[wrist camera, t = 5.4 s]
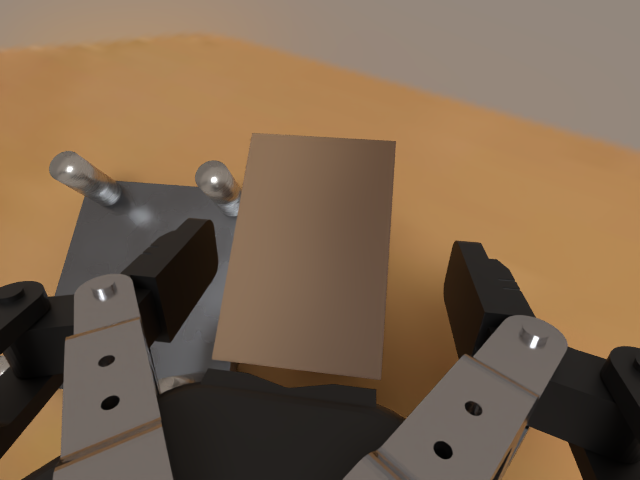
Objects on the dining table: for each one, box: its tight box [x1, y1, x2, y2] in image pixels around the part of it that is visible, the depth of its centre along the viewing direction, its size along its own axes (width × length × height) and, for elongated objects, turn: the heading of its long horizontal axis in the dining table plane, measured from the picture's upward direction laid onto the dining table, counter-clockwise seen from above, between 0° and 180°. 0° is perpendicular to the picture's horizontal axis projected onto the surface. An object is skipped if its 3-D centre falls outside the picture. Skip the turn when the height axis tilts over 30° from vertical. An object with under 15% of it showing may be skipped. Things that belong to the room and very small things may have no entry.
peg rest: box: [0, 151, 242, 393], centre depth 17 cm, size 9×10×4 cm
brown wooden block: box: [212, 133, 396, 380], centre depth 13 cm, size 3×5×10 cm, turn 174°
